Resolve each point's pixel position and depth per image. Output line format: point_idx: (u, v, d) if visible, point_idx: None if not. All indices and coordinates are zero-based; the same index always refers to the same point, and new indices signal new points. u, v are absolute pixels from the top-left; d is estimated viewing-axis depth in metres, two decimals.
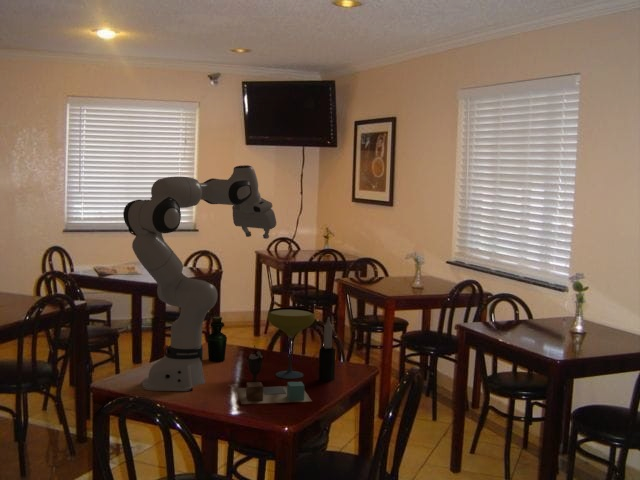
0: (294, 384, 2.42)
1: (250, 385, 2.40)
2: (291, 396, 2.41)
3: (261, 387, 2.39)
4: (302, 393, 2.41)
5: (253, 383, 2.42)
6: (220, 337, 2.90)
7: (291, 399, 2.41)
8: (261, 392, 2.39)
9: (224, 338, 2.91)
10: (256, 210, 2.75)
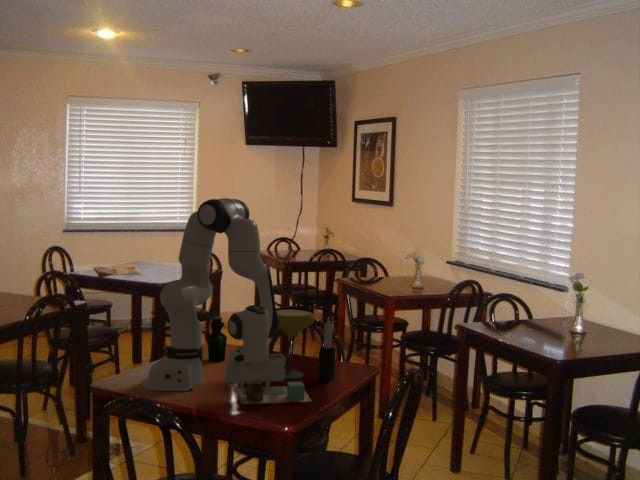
0: (294, 384, 2.42)
1: (250, 385, 2.40)
2: (291, 396, 2.41)
3: (261, 387, 2.39)
4: (302, 393, 2.41)
5: (253, 383, 2.42)
6: (220, 337, 2.90)
7: (291, 399, 2.41)
8: (261, 392, 2.39)
9: (224, 338, 2.91)
10: None
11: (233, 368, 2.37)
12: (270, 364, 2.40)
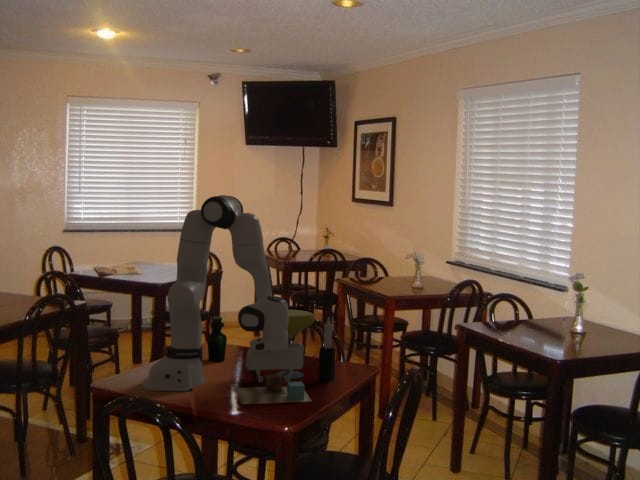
0: (294, 384, 2.42)
1: (270, 377, 2.49)
2: (291, 396, 2.41)
3: (280, 379, 2.49)
4: (302, 393, 2.41)
5: (272, 375, 2.52)
6: (220, 337, 2.90)
7: (291, 399, 2.41)
8: (280, 384, 2.49)
9: (224, 338, 2.91)
10: None
11: (253, 356, 2.46)
12: (289, 352, 2.49)
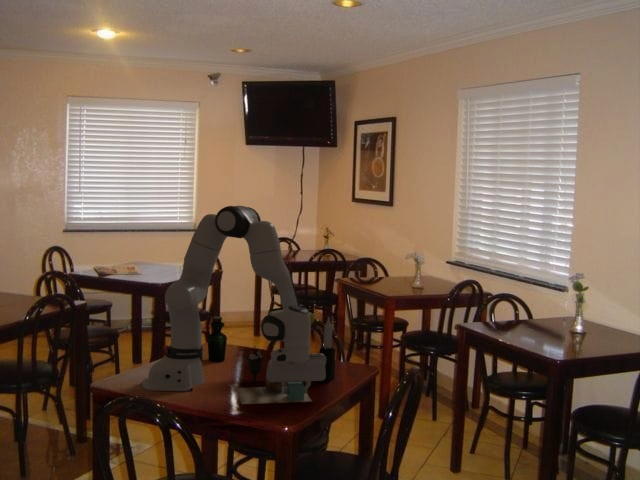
0: (294, 384, 2.42)
1: None
2: (291, 396, 2.41)
3: None
4: (302, 393, 2.41)
5: None
6: (220, 337, 2.90)
7: (291, 399, 2.41)
8: (280, 384, 2.49)
9: (224, 338, 2.91)
10: None
11: (275, 368, 2.39)
12: (311, 364, 2.42)
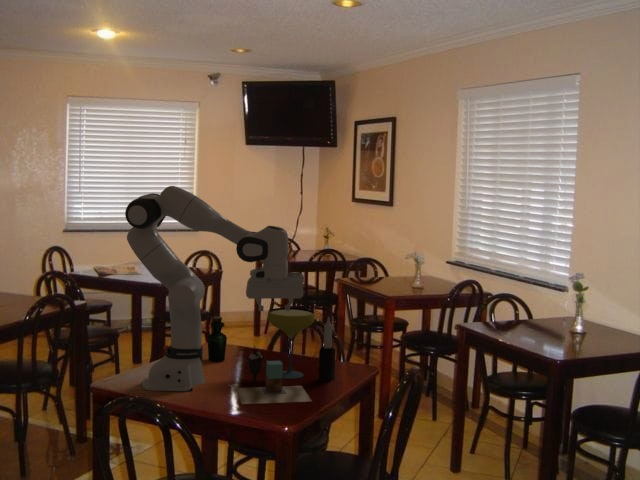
0: (273, 363, 2.49)
1: None
2: (269, 374, 2.48)
3: (280, 379, 2.49)
4: (280, 371, 2.48)
5: None
6: (220, 337, 2.90)
7: (270, 377, 2.48)
8: (280, 384, 2.49)
9: (224, 338, 2.91)
10: None
11: (254, 284, 2.48)
12: (289, 281, 2.51)
